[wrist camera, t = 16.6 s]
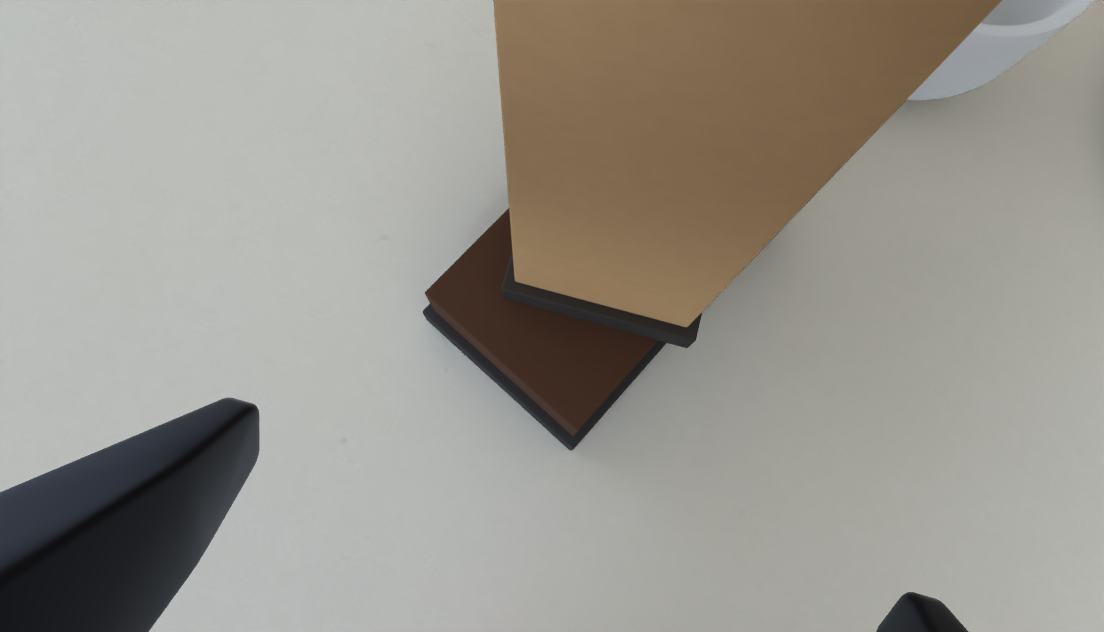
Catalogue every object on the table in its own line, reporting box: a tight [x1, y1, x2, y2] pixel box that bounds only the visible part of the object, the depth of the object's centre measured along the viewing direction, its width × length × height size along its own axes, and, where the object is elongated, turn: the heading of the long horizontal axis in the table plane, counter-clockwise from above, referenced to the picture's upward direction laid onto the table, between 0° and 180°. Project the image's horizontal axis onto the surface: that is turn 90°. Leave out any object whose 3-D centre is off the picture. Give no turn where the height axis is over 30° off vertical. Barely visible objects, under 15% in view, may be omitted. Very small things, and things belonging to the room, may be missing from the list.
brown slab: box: [423, 209, 667, 450], centre depth 22 cm, size 11×6×3 cm, turn 138°
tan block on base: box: [493, 0, 1002, 348], centre depth 13 cm, size 6×6×16 cm
